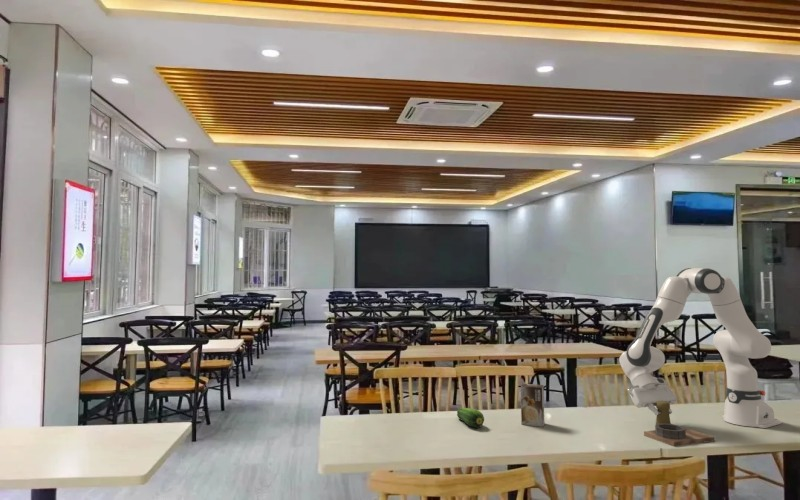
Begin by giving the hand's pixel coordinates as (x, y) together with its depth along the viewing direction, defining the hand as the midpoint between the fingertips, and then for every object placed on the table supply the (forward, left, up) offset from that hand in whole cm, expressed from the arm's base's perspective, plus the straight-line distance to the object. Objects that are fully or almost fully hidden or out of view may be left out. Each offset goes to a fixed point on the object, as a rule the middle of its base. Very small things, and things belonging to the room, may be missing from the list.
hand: (664, 414), depth 213 cm
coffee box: (+47, -24, -6) cm, 53 cm away
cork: (0, -1, -6) cm, 6 cm away
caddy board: (+5, +11, -6) cm, 14 cm away
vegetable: (+72, -33, -6) cm, 80 cm away
